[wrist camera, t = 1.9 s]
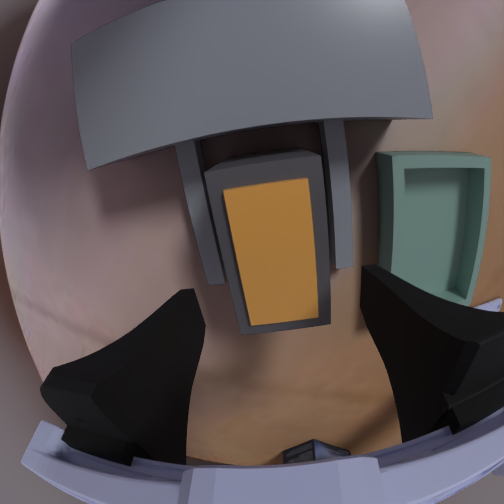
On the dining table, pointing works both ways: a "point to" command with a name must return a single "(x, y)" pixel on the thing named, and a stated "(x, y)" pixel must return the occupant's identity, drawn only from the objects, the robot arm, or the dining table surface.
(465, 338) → the robot arm
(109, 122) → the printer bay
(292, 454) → the small box
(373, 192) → the dining table surface
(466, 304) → the tray
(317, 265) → the grey block orange panel
